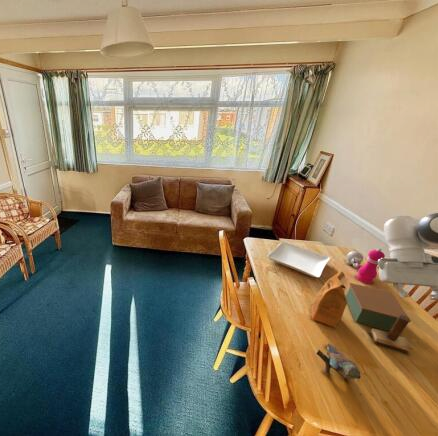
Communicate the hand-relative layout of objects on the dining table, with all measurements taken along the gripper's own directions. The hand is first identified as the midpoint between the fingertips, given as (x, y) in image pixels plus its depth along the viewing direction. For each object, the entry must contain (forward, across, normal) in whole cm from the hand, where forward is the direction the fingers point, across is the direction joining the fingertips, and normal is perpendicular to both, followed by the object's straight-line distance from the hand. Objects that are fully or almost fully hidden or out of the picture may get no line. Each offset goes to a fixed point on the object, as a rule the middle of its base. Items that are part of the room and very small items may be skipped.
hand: (420, 298), depth 79 cm
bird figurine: (+27, -29, +7) cm, 40 cm away
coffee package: (+9, -18, +25) cm, 32 cm away
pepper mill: (-12, +17, +45) cm, 50 cm away
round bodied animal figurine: (-20, +18, +54) cm, 60 cm away
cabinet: (+6, +3, +27) cm, 28 cm away
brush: (+17, -1, +17) cm, 24 cm away
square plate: (-21, -12, +54) cm, 59 cm away
